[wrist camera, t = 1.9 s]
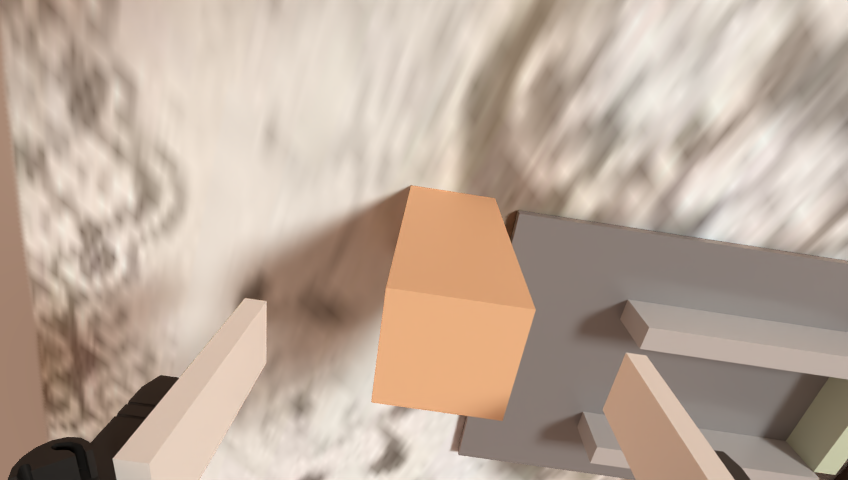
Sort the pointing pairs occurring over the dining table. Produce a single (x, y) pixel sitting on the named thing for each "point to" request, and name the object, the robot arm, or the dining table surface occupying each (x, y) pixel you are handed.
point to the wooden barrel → (843, 475)
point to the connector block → (452, 309)
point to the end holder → (675, 348)
